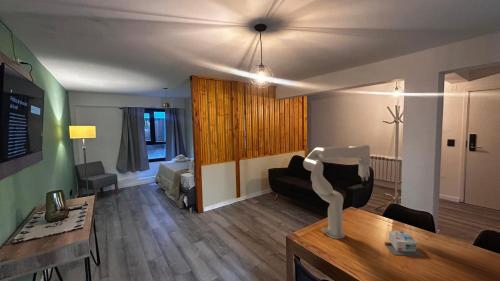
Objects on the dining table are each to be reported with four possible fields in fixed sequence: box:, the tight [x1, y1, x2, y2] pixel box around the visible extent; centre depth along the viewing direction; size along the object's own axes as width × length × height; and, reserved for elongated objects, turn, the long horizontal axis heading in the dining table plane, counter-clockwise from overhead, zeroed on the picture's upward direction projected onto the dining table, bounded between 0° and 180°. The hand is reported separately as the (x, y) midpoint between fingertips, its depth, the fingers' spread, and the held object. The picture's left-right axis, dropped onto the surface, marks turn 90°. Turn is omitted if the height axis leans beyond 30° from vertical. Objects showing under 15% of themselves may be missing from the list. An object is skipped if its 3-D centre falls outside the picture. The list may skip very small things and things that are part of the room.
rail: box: [384, 241, 393, 246], centre depth 136 cm, size 16×2×2 cm, turn 81°
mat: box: [385, 245, 424, 257], centre depth 130 cm, size 16×10×1 cm, turn 81°
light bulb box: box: [388, 230, 417, 252], centre depth 133 cm, size 11×7×11 cm
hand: (364, 185), depth 159 cm, fingers closed
